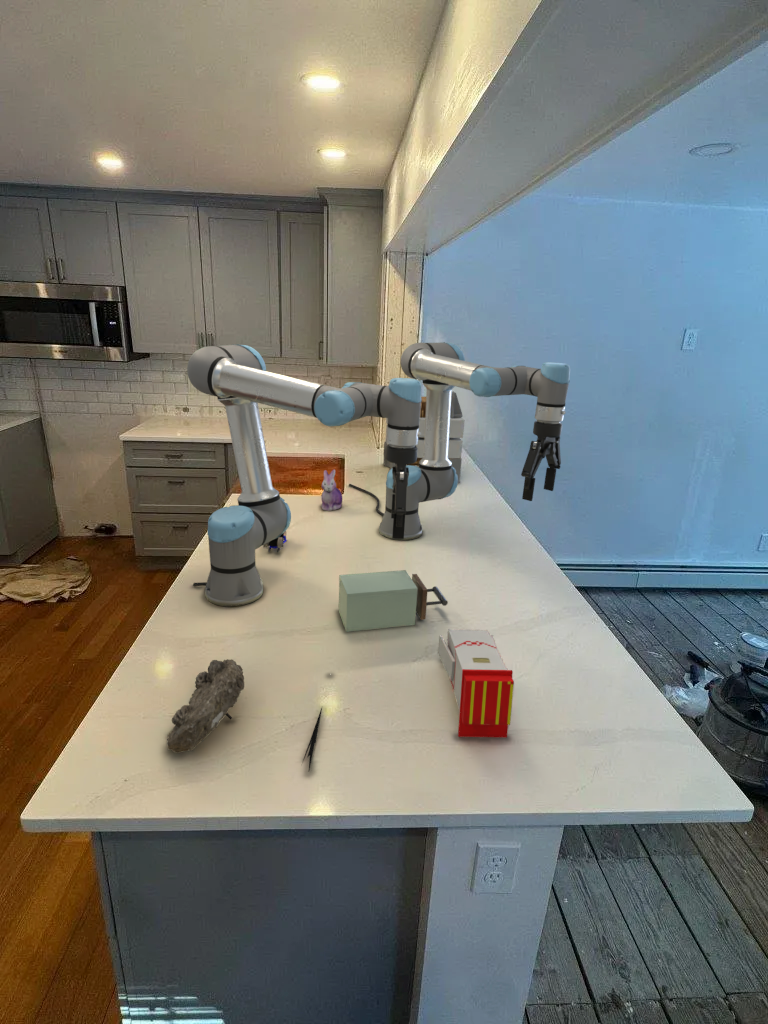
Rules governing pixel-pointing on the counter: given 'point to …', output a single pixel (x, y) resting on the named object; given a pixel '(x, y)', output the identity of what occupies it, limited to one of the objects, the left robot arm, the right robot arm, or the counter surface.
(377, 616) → the sage green rectangular box
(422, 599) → the drawer
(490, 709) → the toy
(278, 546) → the figurine character
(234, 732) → the counter surface
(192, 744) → the fossil
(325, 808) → the counter surface
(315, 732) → the feather
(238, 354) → the left robot arm
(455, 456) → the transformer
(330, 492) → the figurine
